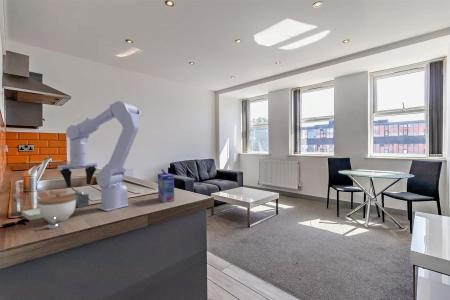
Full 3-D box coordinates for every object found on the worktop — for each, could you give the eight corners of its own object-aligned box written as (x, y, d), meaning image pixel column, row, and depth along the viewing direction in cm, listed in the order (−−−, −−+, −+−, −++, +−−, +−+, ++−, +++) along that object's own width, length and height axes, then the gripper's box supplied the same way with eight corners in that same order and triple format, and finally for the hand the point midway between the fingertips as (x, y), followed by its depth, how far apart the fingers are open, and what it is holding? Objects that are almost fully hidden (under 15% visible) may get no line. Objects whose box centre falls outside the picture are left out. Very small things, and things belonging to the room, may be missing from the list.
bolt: (56, 225, 72) (56, 214, 72) (60, 227, 70) (60, 216, 70) (45, 227, 70) (45, 217, 69) (49, 230, 68) (48, 219, 68)
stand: (44, 210, 87) (44, 206, 87) (53, 214, 82) (53, 210, 82) (21, 215, 82) (21, 211, 82) (30, 220, 76) (29, 215, 76)
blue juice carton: (157, 197, 108) (157, 168, 107) (168, 196, 111) (168, 168, 110) (162, 202, 99) (162, 170, 99) (174, 200, 102) (174, 170, 102)
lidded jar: (35, 219, 77) (35, 193, 77) (71, 212, 85) (71, 188, 85) (42, 227, 70) (41, 198, 70) (80, 218, 78) (80, 192, 78)
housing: (80, 203, 99) (80, 190, 99) (88, 206, 94) (88, 192, 94) (70, 205, 96) (69, 192, 95) (78, 208, 91) (78, 194, 91)
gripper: (91, 153, 103) (92, 182, 103) (54, 154, 91) (55, 187, 91) (99, 153, 99) (99, 183, 99) (61, 154, 87) (62, 189, 87)
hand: (78, 185), depth 95 cm, fingers open, 7 cm apart
